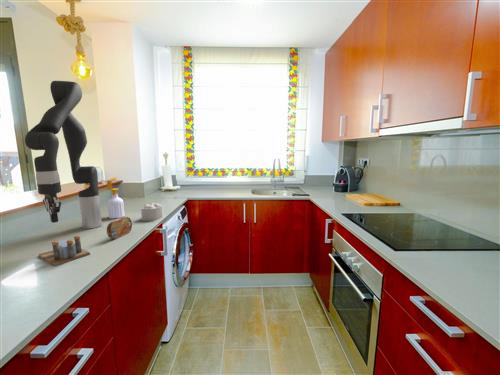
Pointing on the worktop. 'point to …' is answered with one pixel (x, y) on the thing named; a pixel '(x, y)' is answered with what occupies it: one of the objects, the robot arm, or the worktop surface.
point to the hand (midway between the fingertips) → (54, 221)
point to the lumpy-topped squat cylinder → (151, 212)
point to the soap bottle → (115, 203)
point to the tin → (119, 227)
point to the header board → (56, 262)
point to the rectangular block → (65, 249)
